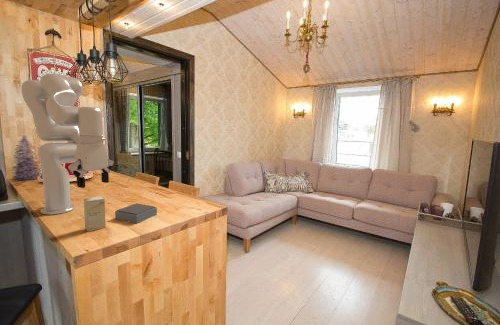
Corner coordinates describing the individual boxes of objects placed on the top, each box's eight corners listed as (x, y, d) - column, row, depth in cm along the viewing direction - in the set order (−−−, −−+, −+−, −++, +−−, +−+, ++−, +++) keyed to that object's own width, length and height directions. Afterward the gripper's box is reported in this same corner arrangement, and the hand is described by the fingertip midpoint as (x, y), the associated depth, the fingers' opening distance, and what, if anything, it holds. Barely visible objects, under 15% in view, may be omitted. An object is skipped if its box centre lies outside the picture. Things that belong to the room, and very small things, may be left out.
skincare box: (88, 232, 91) (86, 201, 89) (84, 228, 94) (83, 198, 92) (106, 227, 96) (105, 198, 94) (102, 224, 98) (101, 195, 97)
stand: (115, 219, 104) (115, 210, 104) (136, 210, 116) (136, 202, 115) (136, 223, 100) (136, 214, 100) (156, 214, 112) (156, 206, 111)
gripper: (104, 139, 99) (106, 179, 102) (60, 140, 83) (63, 188, 85) (118, 140, 97) (120, 181, 99) (75, 141, 81) (78, 190, 83)
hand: (93, 184), depth 92 cm, fingers open, 9 cm apart
